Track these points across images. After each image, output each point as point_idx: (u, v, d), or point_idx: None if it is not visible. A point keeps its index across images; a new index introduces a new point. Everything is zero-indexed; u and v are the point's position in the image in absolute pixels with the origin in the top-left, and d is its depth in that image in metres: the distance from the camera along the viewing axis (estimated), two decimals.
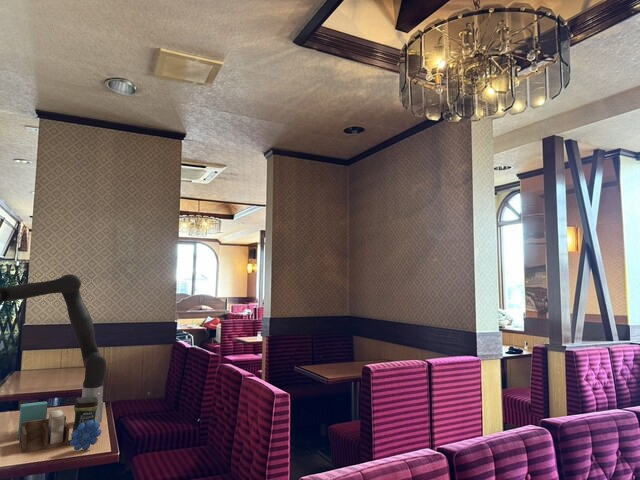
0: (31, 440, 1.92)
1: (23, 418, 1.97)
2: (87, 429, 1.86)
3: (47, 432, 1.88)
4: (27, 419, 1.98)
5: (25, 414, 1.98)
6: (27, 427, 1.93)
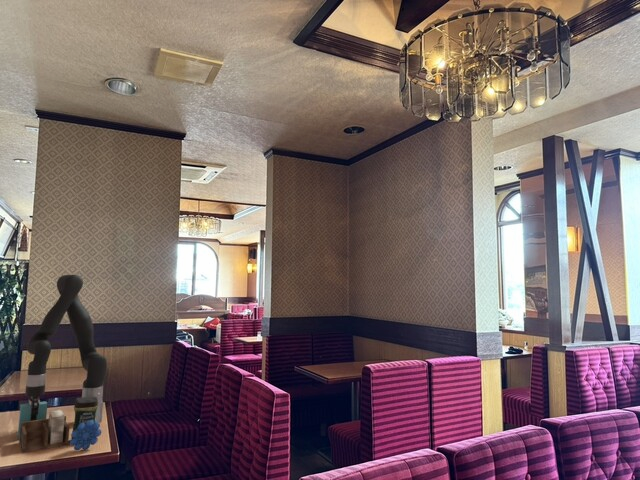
0: (31, 440, 1.92)
1: (22, 418, 1.97)
2: (87, 429, 1.86)
3: (47, 432, 1.88)
4: (27, 419, 1.98)
5: (25, 414, 1.98)
6: (27, 427, 1.93)
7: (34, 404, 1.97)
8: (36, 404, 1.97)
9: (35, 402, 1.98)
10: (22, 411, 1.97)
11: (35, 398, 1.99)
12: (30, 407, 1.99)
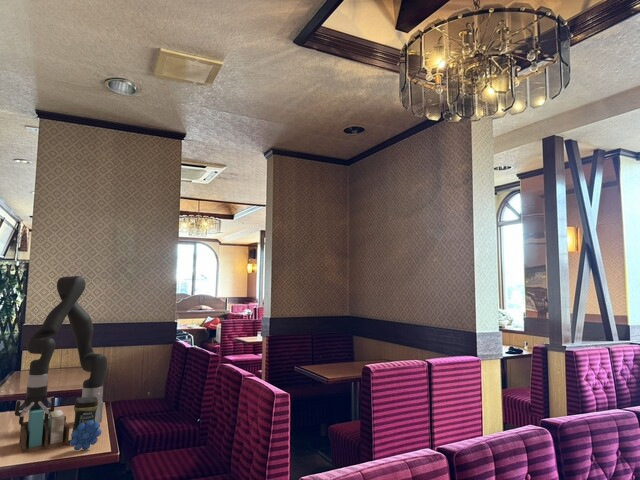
0: None
1: (28, 419, 1.92)
2: (87, 429, 1.86)
3: (47, 432, 1.88)
4: (28, 422, 1.91)
5: (29, 416, 1.92)
6: (27, 427, 1.93)
7: (17, 401, 1.87)
8: (17, 402, 1.86)
9: None
10: (29, 412, 1.93)
11: (25, 399, 1.89)
12: None
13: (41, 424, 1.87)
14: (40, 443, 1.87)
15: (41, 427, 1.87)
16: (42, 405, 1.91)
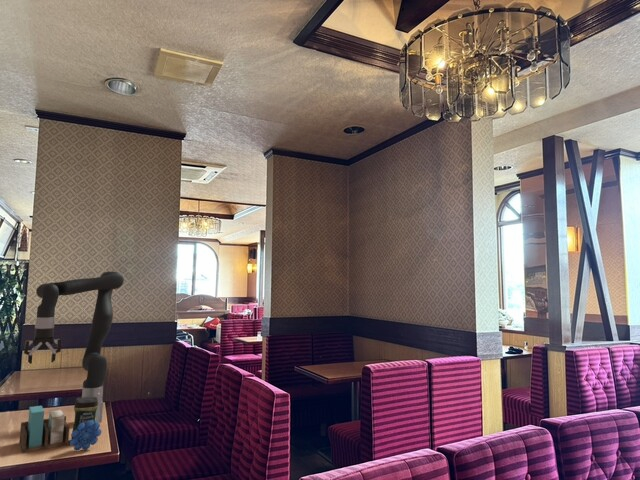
0: None
1: (28, 419, 1.92)
2: (87, 429, 1.86)
3: (47, 432, 1.88)
4: (28, 422, 1.91)
5: (29, 416, 1.92)
6: (27, 427, 1.93)
7: (26, 341, 2.02)
8: (26, 341, 2.01)
9: None
10: (29, 412, 1.93)
11: (34, 339, 2.03)
12: (34, 346, 2.05)
13: (41, 424, 1.87)
14: (40, 443, 1.87)
15: (41, 427, 1.87)
16: (49, 345, 2.05)
